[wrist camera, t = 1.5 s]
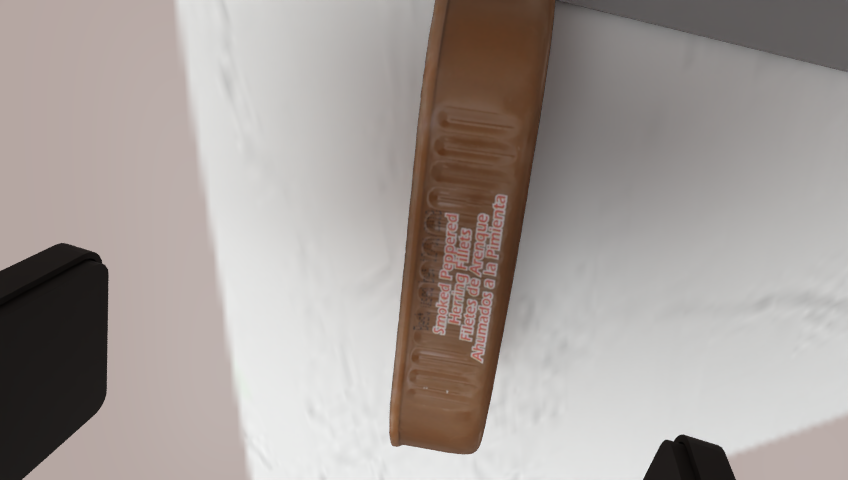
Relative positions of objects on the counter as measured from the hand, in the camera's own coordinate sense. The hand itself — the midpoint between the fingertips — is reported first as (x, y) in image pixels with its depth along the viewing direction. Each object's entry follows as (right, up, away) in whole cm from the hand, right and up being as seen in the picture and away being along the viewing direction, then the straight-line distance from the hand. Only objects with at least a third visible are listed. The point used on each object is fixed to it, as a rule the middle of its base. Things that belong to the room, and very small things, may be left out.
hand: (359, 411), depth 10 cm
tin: (+3, +5, +12) cm, 13 cm away
